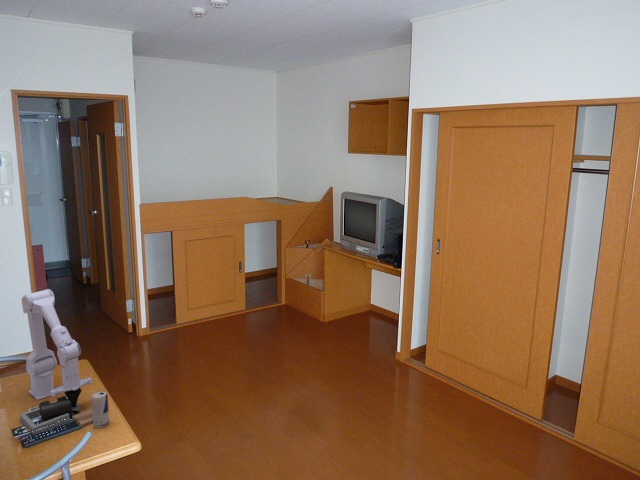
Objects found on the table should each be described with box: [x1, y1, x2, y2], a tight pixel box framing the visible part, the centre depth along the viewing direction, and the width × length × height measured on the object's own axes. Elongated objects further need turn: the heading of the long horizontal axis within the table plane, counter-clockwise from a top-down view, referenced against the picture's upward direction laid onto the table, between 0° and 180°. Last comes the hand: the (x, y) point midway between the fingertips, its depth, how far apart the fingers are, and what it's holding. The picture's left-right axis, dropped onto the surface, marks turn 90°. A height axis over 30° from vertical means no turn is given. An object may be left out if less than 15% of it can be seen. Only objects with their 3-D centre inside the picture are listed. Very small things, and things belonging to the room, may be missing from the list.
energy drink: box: [91, 390, 110, 429], centre depth 181 cm, size 5×5×12 cm
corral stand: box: [19, 401, 71, 435], centre depth 183 cm, size 13×12×2 cm
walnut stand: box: [71, 408, 93, 428], centre depth 185 cm, size 8×8×1 cm
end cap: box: [38, 395, 73, 423], centre depth 185 cm, size 10×7×7 cm
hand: (73, 406), depth 191 cm, fingers closed
